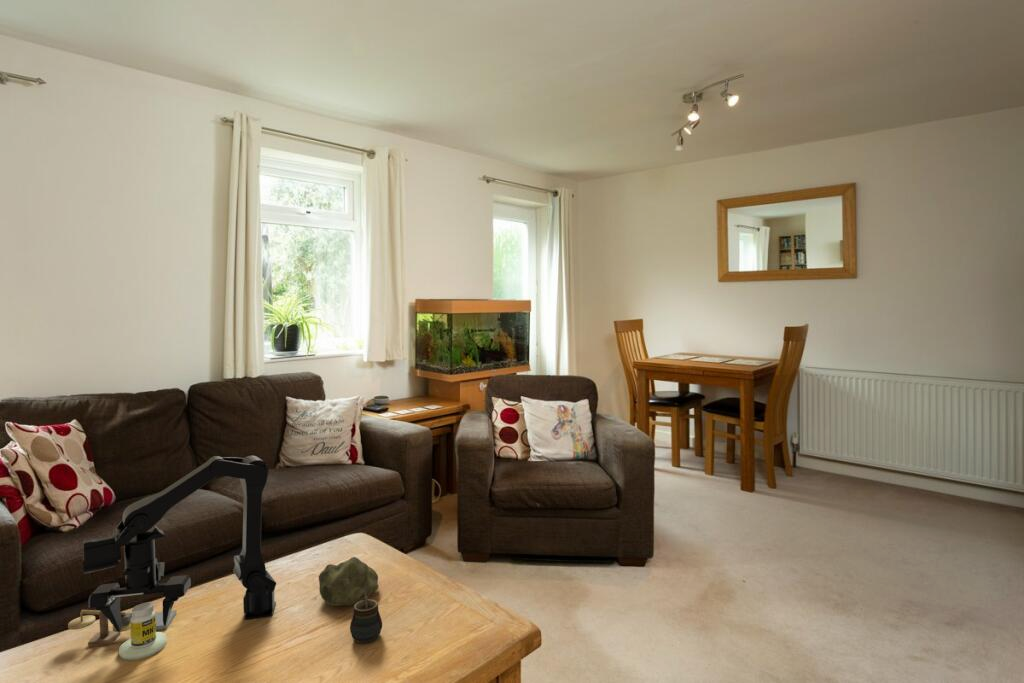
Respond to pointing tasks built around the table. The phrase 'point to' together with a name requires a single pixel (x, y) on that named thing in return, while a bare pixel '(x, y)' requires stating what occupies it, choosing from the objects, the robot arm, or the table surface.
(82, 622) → the balance
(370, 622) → the mate gourd
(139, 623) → the supplement bottle
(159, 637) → the sage dish
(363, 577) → the decorative rock
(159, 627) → the slate coaster
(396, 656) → the table surface
